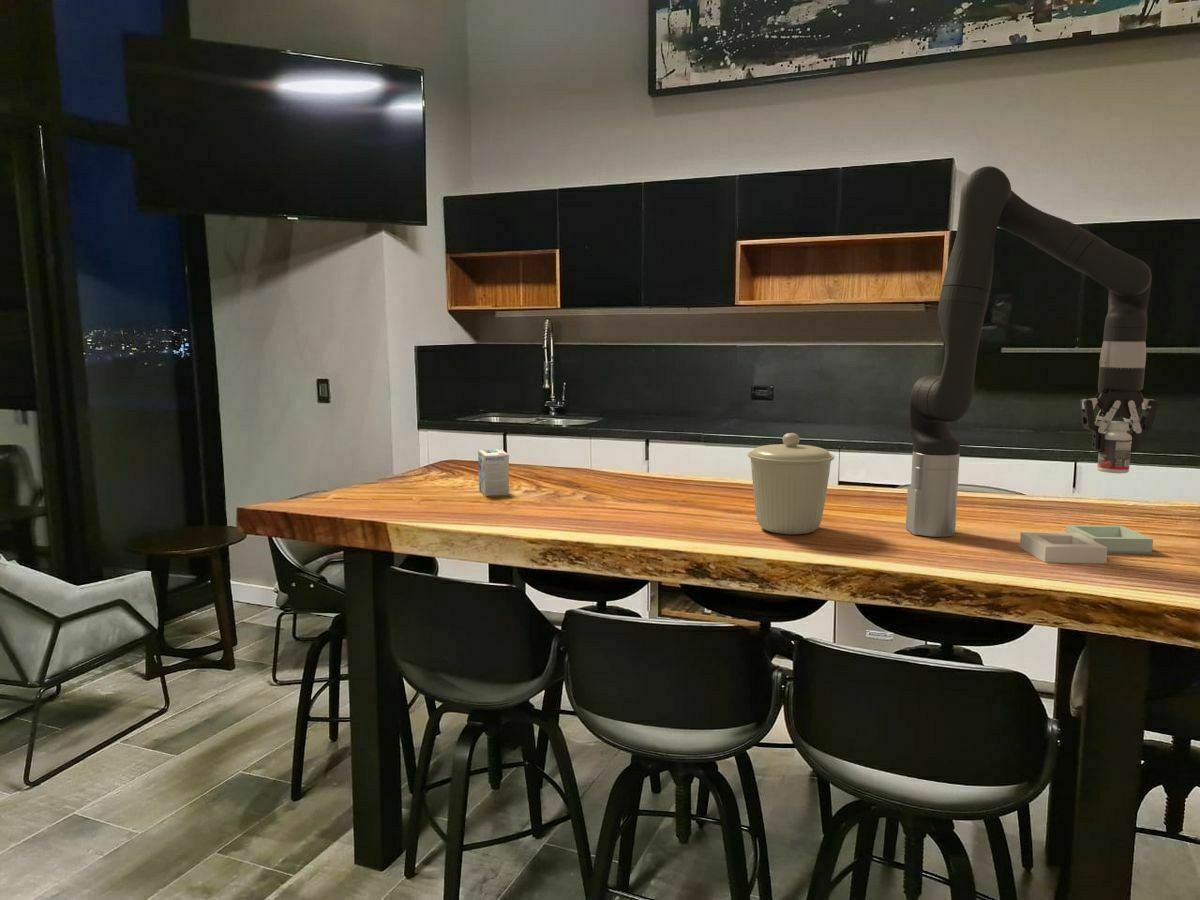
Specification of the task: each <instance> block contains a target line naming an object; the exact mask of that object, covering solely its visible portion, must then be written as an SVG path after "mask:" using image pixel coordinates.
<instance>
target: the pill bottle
mask: <svg viewBox="0 0 1200 900" xmlns="http://www.w3.org/2000/svg"><path fill="white" fill-rule="evenodd" d="M1128 431H1129V423H1127V422H1125V421H1119V420H1117V421H1116V420H1111V422H1110V423H1109V424H1108V425H1107V427H1106V429H1105V431H1104V432H1103V433H1104V434H1105V439H1104V450H1103V452H1098V456H1097V470H1098V471H1099V472H1102V473H1108V474H1127V473H1129V471H1130V465H1131V464H1130V463H1131V454H1132V453H1131V445H1132V436H1131V435H1130V434H1128V433H1129V432H1128Z"/></svg>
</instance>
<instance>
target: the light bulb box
mask: <svg viewBox="0 0 1200 900" xmlns="http://www.w3.org/2000/svg"><path fill="white" fill-rule="evenodd" d="M477 454H478V455H477V457H478V459H477V460H478V461H477V462H478V489H479V491H480V492H481V493H482V494H483V495H484V496H485V497H487V496H488V497H489V496H491V497H492V496H509V495H510V467H509V466H510V464H509V463H510V459H509V458H510V455H509V453H507V452H506V451H505V450H503V449H501V448H499V449H482V450H481V449H479V450H478V451H477Z"/></svg>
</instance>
